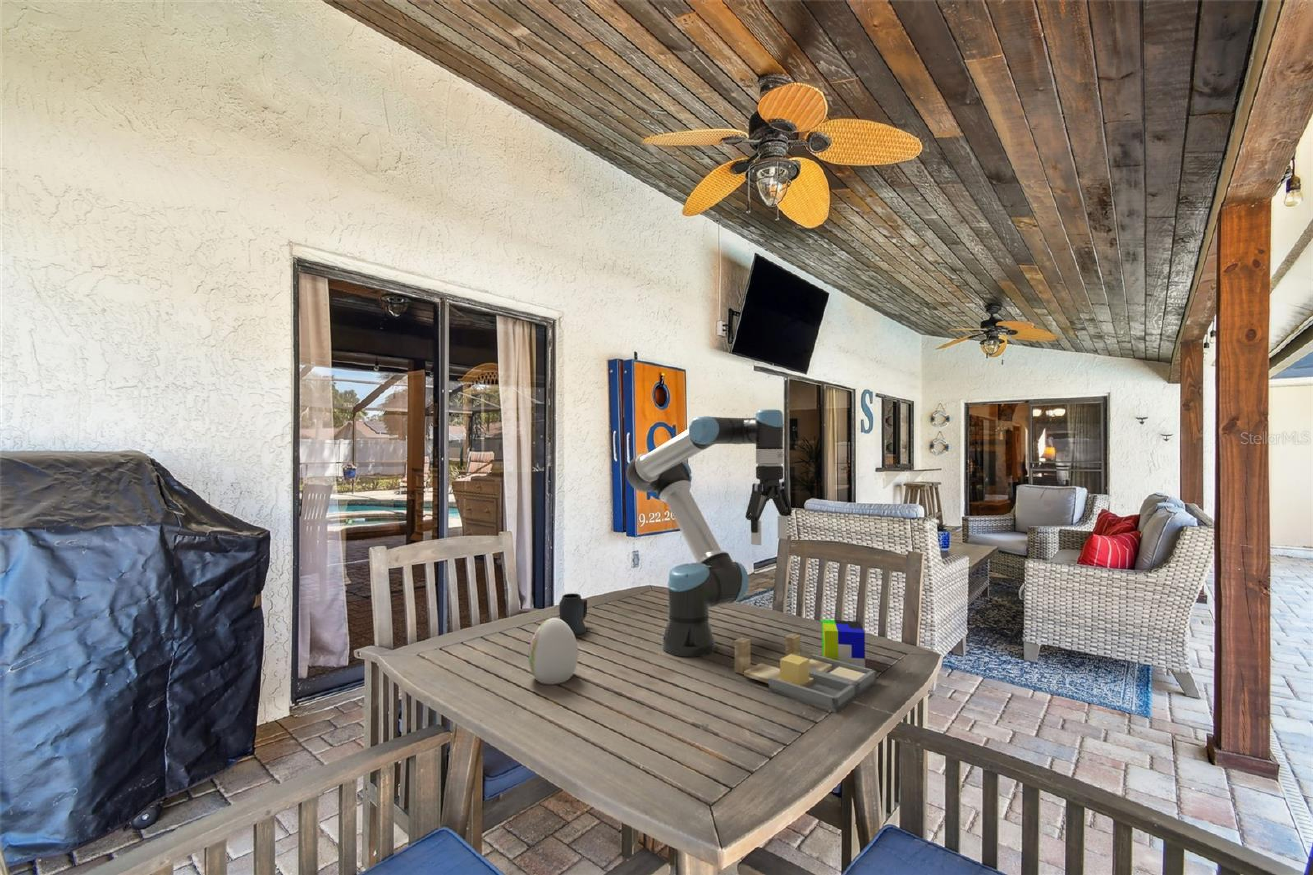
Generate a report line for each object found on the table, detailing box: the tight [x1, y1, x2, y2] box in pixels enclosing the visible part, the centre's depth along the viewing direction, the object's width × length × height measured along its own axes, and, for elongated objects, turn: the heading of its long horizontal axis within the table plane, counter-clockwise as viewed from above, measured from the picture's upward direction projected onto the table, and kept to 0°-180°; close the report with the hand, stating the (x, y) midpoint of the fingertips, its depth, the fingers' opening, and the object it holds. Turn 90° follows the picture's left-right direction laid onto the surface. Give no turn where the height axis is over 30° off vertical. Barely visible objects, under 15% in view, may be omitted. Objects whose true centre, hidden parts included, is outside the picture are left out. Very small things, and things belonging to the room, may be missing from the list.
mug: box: [558, 592, 588, 637], centre depth 187 cm, size 12×9×11 cm
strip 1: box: [734, 636, 814, 687], centre depth 146 cm, size 19×8×8 cm, turn 47°
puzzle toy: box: [821, 619, 866, 668], centre depth 159 cm, size 10×10×10 cm
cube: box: [779, 654, 810, 686], centre depth 142 cm, size 5×5×5 cm
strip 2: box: [784, 633, 832, 672], centre depth 152 cm, size 10×8×8 cm
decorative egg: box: [528, 617, 579, 685], centre depth 148 cm, size 12×12×15 cm
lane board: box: [768, 653, 877, 713], centre depth 143 cm, size 17×22×3 cm
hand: (769, 541), depth 164 cm, fingers open, 13 cm apart
